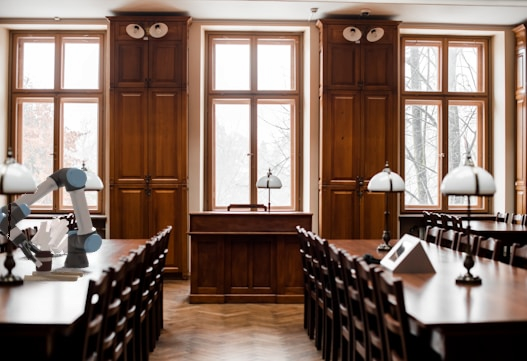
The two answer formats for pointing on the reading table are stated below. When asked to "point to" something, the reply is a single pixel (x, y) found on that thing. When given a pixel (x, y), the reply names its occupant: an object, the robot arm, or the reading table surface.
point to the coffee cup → (44, 262)
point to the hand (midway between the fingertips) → (44, 264)
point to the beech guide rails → (54, 276)
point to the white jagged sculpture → (52, 236)
